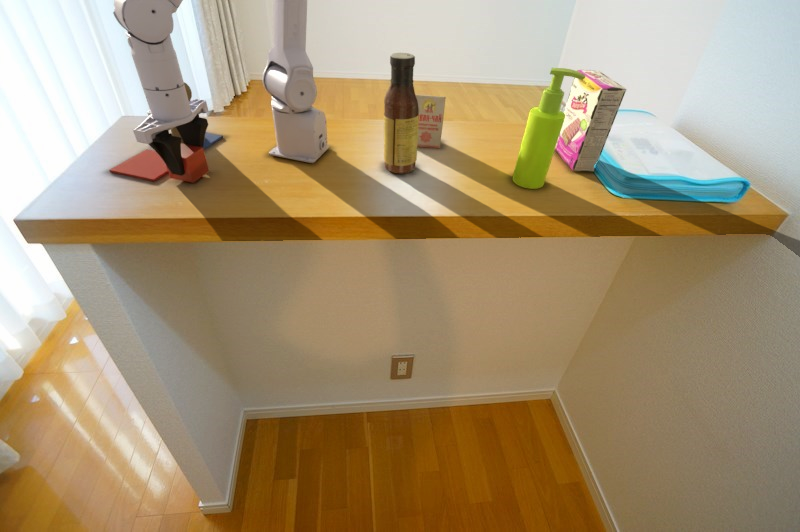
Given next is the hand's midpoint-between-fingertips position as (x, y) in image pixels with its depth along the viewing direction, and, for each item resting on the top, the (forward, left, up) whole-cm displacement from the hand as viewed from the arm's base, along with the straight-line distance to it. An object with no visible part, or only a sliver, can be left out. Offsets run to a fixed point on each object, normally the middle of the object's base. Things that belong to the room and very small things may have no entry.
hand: (188, 167), depth 71 cm
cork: (+9, -12, -2) cm, 15 cm away
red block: (0, 0, -1) cm, 1 cm away
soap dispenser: (-58, -21, -2) cm, 62 cm away
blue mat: (+9, -12, -2) cm, 15 cm away
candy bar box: (-66, -35, -2) cm, 75 cm away
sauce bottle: (-33, -17, -2) cm, 37 cm away
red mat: (+9, -1, -2) cm, 9 cm away
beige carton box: (-35, -30, -2) cm, 46 cm away
